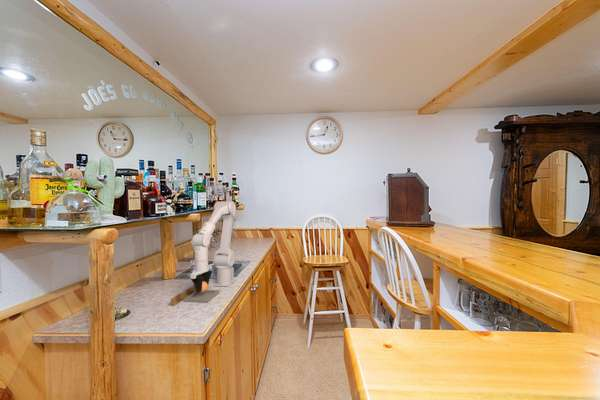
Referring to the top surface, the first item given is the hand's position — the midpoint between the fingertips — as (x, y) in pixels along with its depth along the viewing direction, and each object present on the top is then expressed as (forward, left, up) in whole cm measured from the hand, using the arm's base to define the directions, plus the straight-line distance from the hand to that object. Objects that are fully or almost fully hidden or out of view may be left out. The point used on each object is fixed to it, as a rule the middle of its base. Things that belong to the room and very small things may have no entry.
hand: (202, 289), depth 115 cm
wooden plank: (-1, -8, -4) cm, 9 cm away
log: (+21, -26, -4) cm, 34 cm away
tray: (0, 0, -4) cm, 4 cm away
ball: (0, 0, +1) cm, 1 cm away
